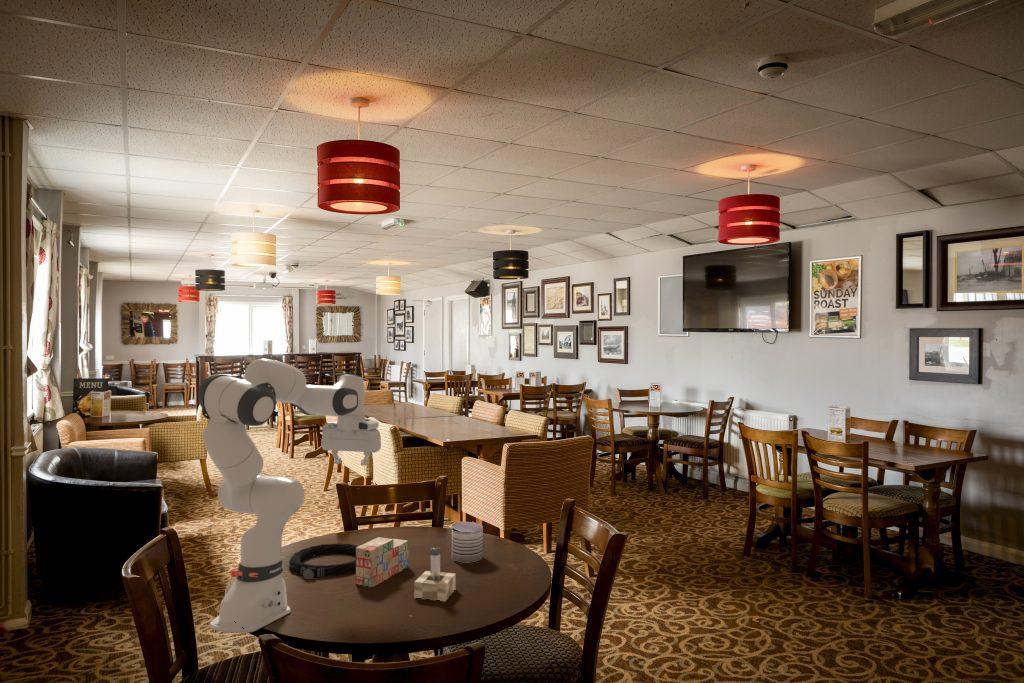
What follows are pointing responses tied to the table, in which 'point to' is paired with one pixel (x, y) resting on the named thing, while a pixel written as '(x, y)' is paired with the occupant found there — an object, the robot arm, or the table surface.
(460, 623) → the table surface
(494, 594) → the table surface
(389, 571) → the stack of blocks
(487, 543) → the table surface
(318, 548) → the cable lock
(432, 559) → the silver metal rod
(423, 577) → the light wooden square frame
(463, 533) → the can
